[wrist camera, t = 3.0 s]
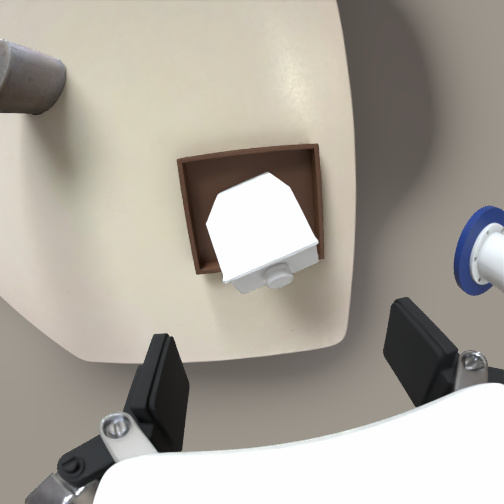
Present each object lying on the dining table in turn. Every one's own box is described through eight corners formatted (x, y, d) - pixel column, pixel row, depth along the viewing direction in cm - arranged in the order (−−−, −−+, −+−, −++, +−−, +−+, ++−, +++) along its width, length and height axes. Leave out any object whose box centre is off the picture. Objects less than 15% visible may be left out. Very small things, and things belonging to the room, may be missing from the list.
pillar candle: (38, 126, 31) (-29, 128, 17) (15, 94, 28) (-46, 89, 14) (76, 77, 29) (13, 56, 15) (50, 47, 26) (-8, 25, 12)
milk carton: (217, 193, 36) (199, 238, 18) (267, 170, 36) (300, 193, 18) (240, 240, 39) (244, 321, 21) (288, 219, 38) (333, 284, 20)
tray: (312, 143, 35) (318, 143, 32) (318, 251, 40) (324, 259, 38) (181, 158, 35) (176, 159, 32) (198, 266, 40) (196, 274, 37)
